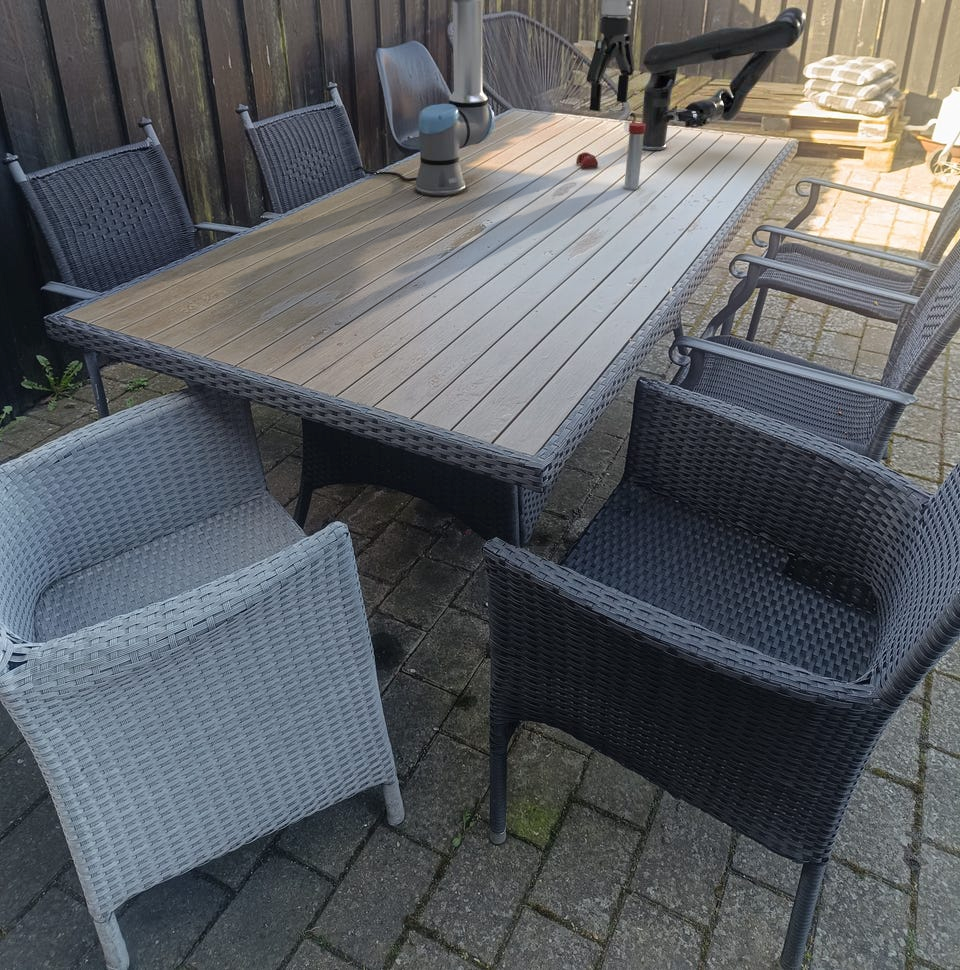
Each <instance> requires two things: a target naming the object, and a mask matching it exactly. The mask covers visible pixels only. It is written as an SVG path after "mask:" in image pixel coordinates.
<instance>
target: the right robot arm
mask: <svg viewBox="0 0 960 970" xmlns="http://www.w3.org/2000/svg"><path fill="white" fill-rule="evenodd" d="M806 25H807V18H806V14H805V13H804V11H803V10H802V9H801V8H799V7H796V6H793V7H787V8H785V9H783V10H782V11H780V13H779V14H778V15H777V16H776V17H775V19H774V20H773V21H771V22H768V23H765V24H762V25H759V26H755V27H742V26H741V27H740V26H725V27H722V28H721V27H720V28H717V29H713V30H710V31H707V32H704V33H701V34H699V35H698V34H697V35H695V36H693V37H690V38H688V39H685V40H682V41H678V42H669V41H663V42H660V43H657V44H653V45H652V46H650V47H649V48H648V50H646V52H645V54H644V56H643V60H642V63H643V67H644V69H645V70H646V71H647V72H648V73H649V74H650V77H649V80H648V82H647V83H646V85H645V86H644V93H643V94H644V95H643V103H642V112H641V122H640V123H643V124H645V127H646V128H645V132H644V137H643V147H642V150H645V151H661V150H664V149H666V142H667V134H668V128H669V127H668V125H669V123H670V122H673V123H675V124H679V123H680V124H681V123H682V124H684V127H685V128H692V129H695V128H698V127H704V126H707V125H709V124H710V123H712V122H714V121H716V120H718V119H721V120H722V121H724V122H732V121H733V120H735V119H736V118H737V116H738V115H739V113H740V112H741V109H742V108H743V105H744V103H745V101H746V99H747V97H748V95H749V93H750V92H751V91H752V90H753V89H754V87H755V86H756V85H757V84H758V83H759V81H760V80H761V79H762V78H763V76H764V75H765V73H766V72H767V70H768V69H769V67H770V66H771V64H772V63H773V62H774V60H775V59H776V58H777V57H778V55H779V54H780V53H781V52H783V50H785V49H788V48H791V47H793V45H795V44H796V43H797V42H798V40H799V39H800V37H801V36H802V34H803V32H804V30H805V28H806ZM751 54H752V55H751ZM748 55H751V56H750V57H749V58H748V60H747V61H746V62H745V63H744V64H743V65H742V67H741V68H739V70H738V71H737V73H736V74H735V75H734V76H733V78H732V79H731V81H730V83H729V90H728V89H727V88H719V89H718V90H717V91H716V92H714V94H712V95H711V97H709V98H705V99H700V100H697V101H693V102H691V103H689V104H687V106H686V107H685V108H684V109H682V110H676V109H675V108H673V109H670V108H671V101H672V93H673V89H674V87H675V84H676V79H677V72H678V68H682V67H686V66H696V65H698V66H699V65H706V64H711V63H717V62H722V61H727V60H730V59H735V58H738V57H743V56H748ZM629 117H632V118H633V119H632V121H631V123H636V121H637V116H636V114H635V113H634V112H630V114H629Z"/></svg>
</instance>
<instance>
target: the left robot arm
mask: <svg viewBox="0 0 960 970" xmlns="http://www.w3.org/2000/svg"><path fill="white" fill-rule="evenodd" d="M483 1H484V0H451V3H452V4H451V5H452V54H453V58H452V59H453V60H452V61H453V92H452V94H451V95H450V96H449V97H448V103H438V104H431V105H428V106H426V107H424V108H423V109H422V110H421V111H420V112H419V114H418V115H419V116H418V126H417V127H418V137H419V138H418V139H419V157H420V158H419V159H420V161H419V162H420V164H419V168H418V172H417V176H416V177H406V176H404V175H403V174H401V173H399V172H395V171H372V170H368V169H366V168H365V167H364V166H362V165H357V166H356V168H355V169H354V170H355V171H359V170H361V171H362V172H364V173H365V174H368V175H373V176H395V177H399V178H400V179H401V180H402V181H406V182H415V185H414V186H415V192H417V193H418V194H420V195H424V196H430V197H450V196H455V195H459V194H461V193H463V192H464V191H466V181H465V179H464V176H463V172H462V169H461V165H460V149H463V148H467V147H470V146H474V145H475V146H476V145H479V144H480V143H482V142H484V141H486V140H487V139H488V138H489V137H490V136H491V135H492V133H493V131H494V128H495V123H496V117H495V113H494V110H492V106H491V105H490V104H489V103H488V96H487V95H486V94H485V93H484V91H483V16H484V15H483V14H484V13H483V8H484V7H483V3H484V2H483ZM632 6H633V0H601V8H600V9H601V10H600V14H601V18H600V24H599V33H600V34H602V35H603V39H596V40H595V45H594V50H593V55H592V58H591V61H590V65H589V67H588V71H587V75H586V78H585V79H586V82H587V83H588V84H590V99H589V100H590V101H589V111H594V112H595V111H596V112H600V111H601V102H602V88H603V84H602V83H601V81H602V80H603V77H604V75H605V72H606V70H607V68H608V65H609V63H610V61H612V60H613V59H614V58H615V60H616V63H617V67H618V70H619V72H620V74H619V75H618V79H617V80H618V82H617V92H616V102H619V103H627V101H628V94H629V93H628V91H629V82H630V79H629V78H630V77H632V76H634V72H635V70H636V69H635V62H634V55H633V47H632V35H631V34H629V33H630V29H631V18H630V15H631V14H632ZM377 172H379V173H377ZM374 173H376V174H374Z"/></svg>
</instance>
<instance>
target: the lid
mask: <svg viewBox="0 0 960 970" xmlns="http://www.w3.org/2000/svg"><path fill="white" fill-rule="evenodd" d="M628 125H629V126H628V132H629V133H634V134H641V133H644V132H645V128H646V127H645V124H643V123H641V122H635V123H632V122H631V123H629V124H628Z"/></svg>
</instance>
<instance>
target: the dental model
mask: <svg viewBox="0 0 960 970" xmlns="http://www.w3.org/2000/svg"><path fill="white" fill-rule="evenodd" d="M575 162H576V163H575V164H576V165H580V168H581V169H593V168H594V169H595V168H598V167H599V162H598V160H597V158H596V155H593V154H590V152H587V151H585V152H581V153H580V154H578V155H577V157H576V160H575Z"/></svg>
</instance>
